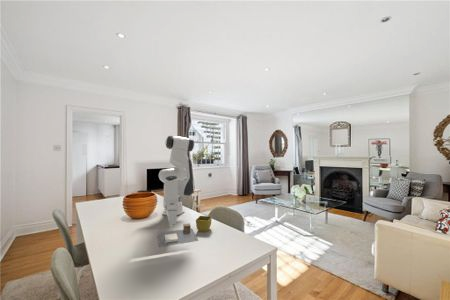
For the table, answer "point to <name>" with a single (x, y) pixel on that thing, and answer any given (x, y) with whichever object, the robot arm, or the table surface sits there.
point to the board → (182, 237)
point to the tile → (171, 238)
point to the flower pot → (203, 223)
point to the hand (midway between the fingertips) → (170, 226)
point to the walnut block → (187, 227)
